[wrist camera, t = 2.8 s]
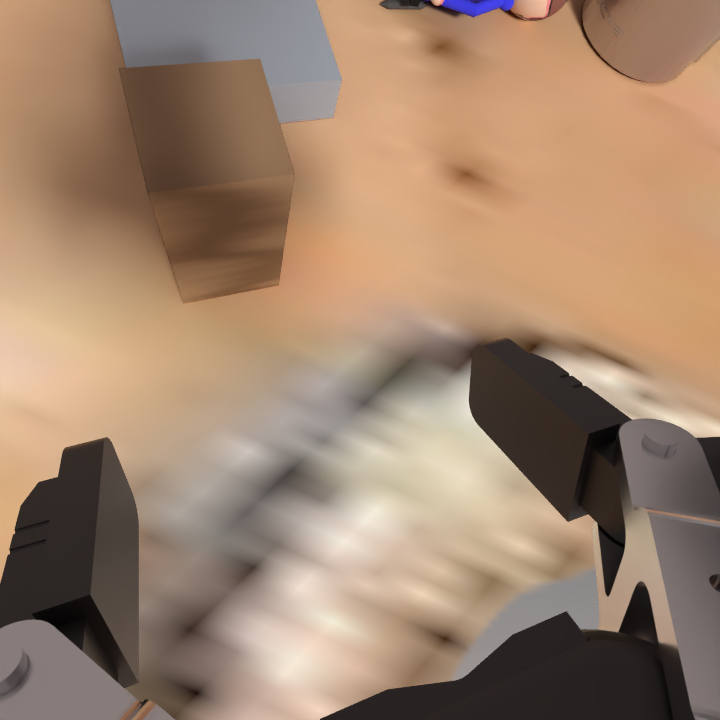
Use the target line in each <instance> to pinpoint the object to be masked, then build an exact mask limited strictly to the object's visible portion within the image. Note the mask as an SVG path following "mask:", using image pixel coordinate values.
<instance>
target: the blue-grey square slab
mask: <svg viewBox="0 0 720 720" xmlns="http://www.w3.org/2000/svg"><path fill="white" fill-rule="evenodd" d="M110 2H111V7H112V11H113V15H114V19H115V23H116V28H117V32H118V36H119V40H120V45H121V49H122V53H123V57H124V62H125V66H126V68H131V67H145V66H159V65H174V64H188V63H203V62H217V61H232V60H246V59H260V60H261V63H262V67H263V70H264V73H265V77H266V80H267V83H268V87H269V90H270V93H271V97H272V100H273V103H274V107H275V110H276V113H277V117H278V120H279V123H287V122H297V121H306V120H316V119H325V118H333V117H334V112H335V108H336V103H337V99H338V94H339V90H340V85H341V81H342V78H341V75H340V72H339V69H338V66H337V63H336V60H335V57H334V54H333V52H332V49H331V46H330V43H329V40H328V37H327V34H326V31H325V28H324V25H323V22H322V19H321V16H320V13H319V10H318V7H317V4H316V1H315V0H110Z"/></svg>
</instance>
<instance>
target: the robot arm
mask: <svg viewBox="0 0 720 720" xmlns="http://www.w3.org/2000/svg"><path fill="white" fill-rule="evenodd" d="M582 19H583V26H584V29H585V32H586V34H587V37H588V38H589V40H590V42H591V44H592V45H593V47H594V48H595V49H596V51H597V52H598V53H599V54H600V56H601V57H602V58H603V59H604V60H605V61H607V62H608V63H609V64H610V65H611V66H612V67H614V68H615V69H617V70H618V71H620V72H621V73H623V74H625V75H627V76H629V77H631V78H634V79H637V80H640V81H644V82H652V83H660V82H667V81H669V80H672V79H674V78H676V77H677V76H678V75H679V74H681V73H682V72H683V71H684V70H685V69H686V68H687V67H688V66H689V65H690V64H691V63H692V62H697V61H698V60H699V59H700V58H701V57H702V56H703V55H704V54H705V53H707V52H708V51H709V50H710V49H711V48H712V47H713V46H714V45H715V44H716V43H717V42H718V41H719V40H720V0H585V2H584V5H583V11H582ZM469 405H470V410H471V413H472V415H473V418H474V420H475V421H476V423H477V424H478V425H479V426H480V427H481V428H482V430H483V431H484V432H485V433H486V434H487V435H488V436H489V437H490V438H491V439H492V440H493V441H494V443H495V444H496V445H497V446H498V447H499V448H500V449H501V450H502V451H503V452H504V453H505V454H506V456H507V457H508V458H509V459H510V460H511V461H512V462H513V463H514V464H515V465H516V466H517V467H518V469H519V470H520V471H521V472H522V473H523V474H524V475H525V476H526V477H527V478H528V479H529V480H530V482H531V483H532V484H533V485H534V486H535V487H536V488H537V489H538V490H539V491H540V492H541V493H542V494H543V496H544V497H545V498H546V499H547V500H548V501H549V502H550V503H551V504H552V505H553V506H554V507H555V509H556V510H557V511H558V512H559V513H560V514H561V515H562V516H563V517H564V518H565V519H566V520H567V522H569V521H571V520H574V519H577V518H579V517H582V516H585V515H587V514H589V515H590V516H591V517H592V518H593V519H594V520H595V521H594V525H593V528H592V537H593V547H594V557H595V567H596V577H597V587H598V597H599V609H600V615H599V628H598V630H586V629H584V630H580V628H579V627H578V626H577V624H576V623H575V622H574V621H573V619H572V618H571V617H570V615H569V614H568V613H567V612H564V613H562V614H559V615H557V616H555V617H552V618H550V619H548V620H545V621H543V622H541V623H539V624H536V625H534V626H532V627H530V628H527V629H525V630H522V631H520V632H518V633H516V634H513V635H512V636H511V637H509V638H508V639H507V640H506V641H505V642H504V643H503V644H502V645H501V646H499V647H498V648H497V649H496V650H495V651H494V652H493V653H491V654H490V655H489V656H488V657H487V658H486V659H485V660H484V661H482V662H481V663H480V664H479V665H478V666H477V667H476V668H475V669H474V670H472V671H471V672H470V673H469V674H468V675H466V676H465V677H464V678H462V679H459V680H456V681H449V682H441V683H434V684H426V685H418V686H411V687H403V688H396V689H388V690H385V691H383V692H381V693H378V694H376V695H374V696H372V697H369V698H367V699H365V700H362V701H360V702H358V703H356V704H353V705H351V706H349V707H346V708H344V709H342V710H340V711H337V712H335V713H333V714H330V715H328V716H326V717H324V718H321V719H320V720H720V437H707V438H695V437H694V436H693V435H691V434H690V433H689V432H687V431H686V430H684V429H682V428H681V427H678V426H676V425H674V424H671V423H668V422H665V421H661V420H656V419H635V420H632V419H630V418H629V417H628V416H626V415H625V414H624V413H622V412H621V411H619V410H618V409H617V408H615V407H614V406H613V405H611V404H610V403H609V402H607V401H606V400H605V399H603V398H602V397H600V396H599V395H598V394H596V393H595V392H594V391H592V390H591V389H590V388H588V387H587V386H583V385H582V383H581V382H580V381H579V380H577V379H576V378H575V377H573V376H569V373H568V372H566V371H565V370H564V369H562V368H561V367H560V366H558V365H557V364H555V363H554V362H553V361H550V360H548V359H545V358H543V357H540V356H538V355H535V354H532V353H527V352H526V351H525V350H523V349H522V348H521V347H520V346H518V345H517V344H516V343H514V342H513V341H512V340H510V339H507V338H504V339H500V340H496V341H492V342H488V343H484V344H480V345H477V346H476V347H475V348H474V350H473V353H472V364H471V377H470V391H469ZM9 550H10V554H9V555H8V556H7V560H6V564H5V568H4V572H3V575H2V579H1V583H0V720H175V719H173V718H172V717H171V716H170V715H169V714H168V713H166V712H165V711H164V710H163V709H162V708H160V707H159V706H158V705H156V704H155V703H153V702H152V701H150V700H144V701H143V702H140V701H139V700H137V699H136V698H135V697H133V696H132V695H131V694H130V693H129V692H128V691H127V690H125V689H124V688H126V687H128V686H131V685H134V684H136V683H139V524H138V514H137V508H136V504H135V500H134V497H133V494H132V491H131V489H130V486H129V484H128V481H127V479H126V476H125V474H124V471H123V469H122V466H121V464H120V461H119V459H118V457H117V454H116V452H115V449H114V447H113V444H112V442H111V441H110V439H109V438H107V437H106V438H102V439H98V440H94V441H90V442H86V443H82V444H78V445H74V446H70V447H66V448H65V449H64V450H63V453H62V458H61V464H60V469H59V474H58V477H56V478H52V479H49V480H45V481H41V482H39V483H38V484H37V485H36V486H35V488H34V489H33V490H32V492H31V493H30V494H29V496H28V497H27V498H26V500H25V501H24V502H23V504H22V505H21V507H20V511H19V515H18V518H17V522H16V526H15V534H13V537H12V541H11V545H10V549H9Z"/></svg>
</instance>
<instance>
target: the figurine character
mask: <svg viewBox="0 0 720 720" xmlns="http://www.w3.org/2000/svg"><path fill="white" fill-rule="evenodd" d="M423 1H431V2H432V3H433V4H434V5H436V6H439V5H441V6H444V7H446V8H449V9H452V10H455V11H458V12H461V13H464V14H466V15H469V16H472V17H475V16H478V15H481V14H483V13H486V12H489V11H492V10H495V9H497V8H500V9H502V10H504V11H507V10H511V11H512V12H513V13H514V14H515V15H516V16H518V17H520V18H522V19H524V20H529V21H537V20H542V19H545V18H547V17H549V16H551V15H553V14H554V13H556V12H557V11H558V10H559V9H560V8H562V6H563V5H564V4H565V3H566V2H567V0H386V1H384V2H382V3H381V4H380V5H382V6H384V7H385V8H387V9H422V8H424V7H426V6H428V5H429V4H427V3H425V2H423ZM474 2H477V3H474Z"/></svg>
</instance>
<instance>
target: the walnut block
mask: <svg viewBox="0 0 720 720" xmlns="http://www.w3.org/2000/svg"><path fill="white" fill-rule="evenodd" d="M119 71H120V76H121V80H122V84H123V88H124V93H125V97H126V101H127V106H128V110H129V114H130V119H131V123H132V127H133V132H134V136H135V140H136V145H137V149H138V153H139V157H140V162H141V166H142V170H143V175H144V179H145V183H146V188H147V192H148V195H149V198H150V202H151V205H152V208H153V211H154V214H155V217H156V220H157V223H158V226H159V229H160V232H161V235H162V239H163V242H164V245H165V248H166V251H167V254H168V257H169V260H170V263H171V266H172V269H173V272H174V275H175V279H176V282H177V285H178V288H179V291H180V294H181V297H182V300H183V303H189V302H194V301H199V300H205V299H210V298H215V297H220V296H225V295H231V294H236V293H241V292H246V291H252V290H257V289H262V288H267V287H272V286H278V285H279V279H280V272H281V265H282V258H283V251H284V244H285V237H286V230H287V223H288V216H289V209H290V202H291V195H292V188H293V181H294V170H293V167H292V163H291V160H290V157H289V153H288V150H287V147H286V143H285V140H284V137H283V133H282V130H281V127H280V123H279V120H278V117H277V113H276V110H275V107H274V103H273V100H272V97H271V93H270V90H269V87H268V83H267V80H266V77H265V73H264V70H263V67H262V63H261V60H260V59H246V60H232V61H217V62H203V63H188V64H174V65H159V66H145V67H131V68H119Z"/></svg>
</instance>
